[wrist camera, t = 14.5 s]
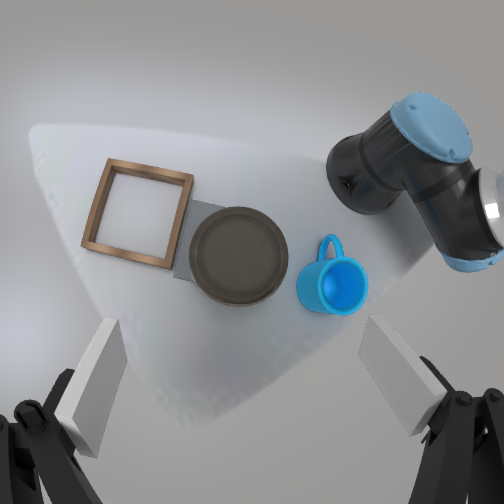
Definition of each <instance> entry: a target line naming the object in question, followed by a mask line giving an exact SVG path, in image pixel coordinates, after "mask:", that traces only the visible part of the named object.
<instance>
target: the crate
mask: <svg viewBox="0 0 504 504" xmlns="http://www.w3.org/2000/svg"><path fill="white" fill-rule="evenodd" d="M116 172H117V173H122V174H127V175H133V176H138V177H143V178H148V179H153V180H157V181H162V182H167V183H172V184H176V185H181V186H183V190H182V193H181V197H180V201H179V204H178V208H177V212H176V216H175V219H174V223H173V227H172V231H171V235H170V239H169V244H168V248H167V252H166V256H165V260H164V259H160V258H156V257H151V256H147V255H143V254H139V253H134V252H130V251H126V250H122V249H118V248H114V247H110V246H106V245H102V244H98V243H95V239H96V235H97V232H98V228H99V224H100V221H101V217H102V214H103V210H104V207H105V204H106V200H107V197H108V194H109V191H110V188H111V185H112V182H113V179H114V176H115V173H116ZM193 179H194V175H191V174H187V173H182V172H178V171H173V170H168V169H163V168H158V167H153V166H148V165H143V164H138V163H133V162H127V161H122V160H116V159H110V158H108V160H107V162H106V165H105V168H104V171H103V173H102V176H101V179H100V182H99V185H98V188H97V191H96V194H95V197H94V200H93V203H92V206H91V210H90V213H89V216H88V220H87V223H86V227H85V231H84V235H83V238H82V242H81V247H83V248H86V249H89V250H92V251H96V252H100V253H104V254H108V255H112V256H116V257H120V258H124V259H128V260H132V261H137V262H141V263H145V264H149V265H153V266H158V267H162V268H166V269H170V270H172V266H173V261H174V257H175V252H176V248H177V244H178V240H179V235H180V231H181V227H182V223H183V219H184V215H185V211H186V208H187V204H188V200H189V196H190V193H191V189H192V185H193Z"/></svg>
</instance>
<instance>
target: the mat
mask: <svg viewBox="0 0 504 504" xmlns="http://www.w3.org/2000/svg"><path fill="white" fill-rule="evenodd" d="M224 208H226V207H222V206H218V205H214V204H209V203H205V202H201V201H196V200H191V204H190V208H189V212H188V216H187V220H186V224H185V228H184V232H183V236H182V240H181V244H180V249H179V253H178V257H177V262H176V266H175V271H174V276H173V277H175V278H180V279H184V280H188V281H193V282H194V280H193V278H192V274H191V269H190V265H189V247H190V243H191V240H192V237H193V235H194V233H195V231H196V229H197V228H198V226H199V225H200V224H201V223H202V222H203V221H204V220H205V219H206V218H207V217H208V216H210V215H211V214H213V213H215V212H216V211H218V210H221V209H224Z"/></svg>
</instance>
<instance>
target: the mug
mask: <svg viewBox="0 0 504 504" xmlns="http://www.w3.org/2000/svg"><path fill="white" fill-rule="evenodd" d="M330 241H332V242H333V245H334V247H335V252H336V258H332V259H328V260H325V257H326V251H327V247H328V244H329V243H330ZM367 292H368V280H367V275H366V273H365V271H364V269H363V267H362V266H361V265H360V264H359V263H358V262H357V261H355V260H354V259H352V258H349V257H344V252H343V248H342V245H341V242H340V240H339V239H338V238H337V237H336V236H335V235H330V234H329V235H327V236H326V237H325V238H324V239H323V241H322V243H321V246H320V249H319V256H318V262H315V263H312V264H310V265H308V266H306V267H305V268H304V269H303V271H302V272H301V273H300V275H299V278H298V280H297V294H298V297H299V299H300V301H301V303H302V304H303V305H304V306H305V307H306V308H308V309H310V310H311V311H315V312H322V313H328V314H335V315H343V316H345V315H348V314H352V313H354V312H355V311H357V310H358V309H359V308H360V307H361V305H362V304H363V303H364V301H365V299H366V296H367Z"/></svg>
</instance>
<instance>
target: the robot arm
mask: <svg viewBox="0 0 504 504" xmlns="http://www.w3.org/2000/svg"><path fill="white" fill-rule="evenodd" d="M468 135H469V132H468V130H467V128H466V126H465V124H464V123H463V121H462V120H461V118H460V117H459V116H458V115H457V113H456V112H455V111H454V110H453V109H452V108H451V107H450V106H449V105H447V104H446V103H445V102H444V101H442V100H441V99H439V98H437V97H435V96H433V95H431V94H429V93H425V92H414V93H411V94H409V95H407V96H406V97H405V98H403V99H402V100H401V101H399V102H396V103H395V104H394V105H393V106H392V107H391V109H390V110H389V111H388V112H387V113H385V114H384V115H383V116H382V117H381V118H380V119H379V120H378V121H377V122H375V123H374V124H373V125H372V126H371V127H370V128H369V129H368V130H366V131H365V132H363V133H360V134H357V135H353V136H349V137H346V138H344V139H342V140H341V141H340V142H338V143H337V144H336V145H335V146H334V147H333V148H332V150H331V151H330V153H329V155H328V159H327V175H328V179H329V182H330V184H331V187H332V189H333V190H334V192H335V194H336V195H337V196H338V198H339V199H340V200H341V201H342V202H343V203H344V204H345V205H346V206H348V207H349V208H351V209H352V210H354V211H356V212H359V213H362V214H376V213H379V212H381V211H383V210H385V209H387V208H388V207H390V206H391V205H392V204H393V203H394V201H395V200H396V198H397V197H398V196H399V195H400V194H401V192H402V191H403V190H405V189H406V190H407V192H408V194H409V195H410V197H411V198H412V200H413V202H414V204H415V206H416V207H417V209H418V211H419V213H420V214H421V216H422V218H423V220H424V222H425V224H426V226H427V227H428V229H429V231H430V233H431V235H432V237H433V239H434V241H435V245H436V247H437V249H438V251H439V252H440V253H441V254H442V256H443V258H444V260H445V262H446V263H447V264H448V265H449V266H450V267H451V268H452V269H454V270H457V271H460V272H467V273H468V272H477V271H481V270H484V269H486V268H487V266H488V265H494V264H496V263H497V262H498V261H499V260H500V259H501V258H502V257H503V256H504V170H503V171H500V172H498V171H497V170H495V169H493V168H492V167H489V166H484V167H482V168H480V169H478V170H475V168H474V167H473V165H472V163H471V161H470V159H469V157H470V155H471V153H472V141H471V138H470V137H469V136H468ZM358 355H359V357H360V358H361V360H362V362H363V363H364V364H365V366H366V368H367V369H368V371H369V373H370V374H371V376H372V377H373V379H374V380H375V382H376V383H377V385H378V387H379V388H380V390H381V391H382V393H383V395H384V396H385V397H386V400H387V401H388V403H389V405H390V406H391V408H392V409H393V411H394V413H395V414H396V416H397V418H398V419H399V421H400V423H401V424H402V426H403V428H404V429H405V431H406V432H407V434H408V436H409V437H410V436H413V435H416V434H418V433H421V432H422V431H423V430H424V428H425V427H426V425H427V424H428V426H429V427H430V430H429V431H428V433H427V434H426V436H425V437H424V438H423V440H422V442H421V443H423V442H424V441H425V440H426V443H425V447H424V452H423V456H422V460H421V464H420V467H419V471H418V475H417V478H416V481H415V485H414V488H413V491H412V494H411V497H410V500H409V503H408V504H466V499H467V493H468V504H504V395H503V393H502V392H500V391H499V390H497V389H495V388H489V389H487V390H486V392H485V393H484V395H483V396H482V397H473V398H472V396H471V395H470V394H468V393H467V392H464V391H455V390H454V388H453V387H452V386H451V385H450V384H449V383H448V381H446V379H445V378H444V377H443V376H442V374H440V372H439V371H438V370H437V369H436V368H435V366H434V365H433V364H432V363H431V362H430V361H429V360H427V359H426V358H424V357H422V356H420V357H418V356H417V355H416V353H415V352H414V351H413V350H412V349H411V348H410V347H409V345H408V344H407V343H406V342H405V341H404V340H403V338H402V337H401V336H400V335H399V334H398V333H397V332H396V331H395V330H394V328H393V327H392V326H391V325H390V324H389V323H388V322H387V321H386V320H385V318H383V316H382V315H381V314H372V315H369V316H368V320H367V323H366V327H365V331H364V334H363V338H362V342H361V345H360V348H359V352H358ZM127 361H128V360H127V356H126V352H125V348H124V344H123V339H122V335H121V330H120V325H119V320H118V319H117V318H104V320H103V321H102V323H101V325H100V327H99V328H98V330H97V332H96V334H95V335H94V337H93V339H92V341H91V342H90V344H89V346H88V348H87V350H86V351H85V353H84V355H83V357H82V359H81V361H80V363H79V364H78V366H77V368H76V370H73V369H66V370H65V371H64V372H62V373H61V374H60V375H59V377H58V379H57V380H56V382H55V385H54V386H53V388H52V391H50V393H49V395H48V397H47V399H46V401H45V403H44V405H43V407H42V406H41V405H40V403H38V402H37V401H35V400H24V401H23V402H21V403H19V404H18V405H17V406H16V408H15V410H14V418H15V419H16V420H17V422H18V423H9V422H8V421H7V419H6V418H5V417H4V416H3V415H1V414H0V504H44V502H43V497H42V492H41V486H40V481H39V476H40V478H41V480H42V483H43V485H44V487H45V489H46V491H47V494H48V496H49V498H50V500H51V502H52V504H103V503H102V502H101V500H100V499H99V497H98V496H97V494H96V493H95V491H94V489H93V488H92V486H91V484H90V483H89V481H88V479H87V478H86V476H85V474H84V472H83V471H82V469H81V468H80V465H79V464H78V462H77V460H76V458H75V457H74V455H73V454H74V450H75V448H76V449H77V451H78V452H79V453H80V455H83V456H88V457H92V458H97V456H98V452H99V449H100V445H101V441H102V438H103V434H104V431H105V428H106V424H107V421H108V418H109V414H110V411H111V408H112V405H113V402H114V399H115V396H116V392H117V389H118V387H119V384H120V380H121V378H122V375H123V372H124V369H125V366H126V363H127ZM486 428H487V430H488V433H487V434H486V433H485V429H486ZM38 473H39V474H38Z"/></svg>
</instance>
